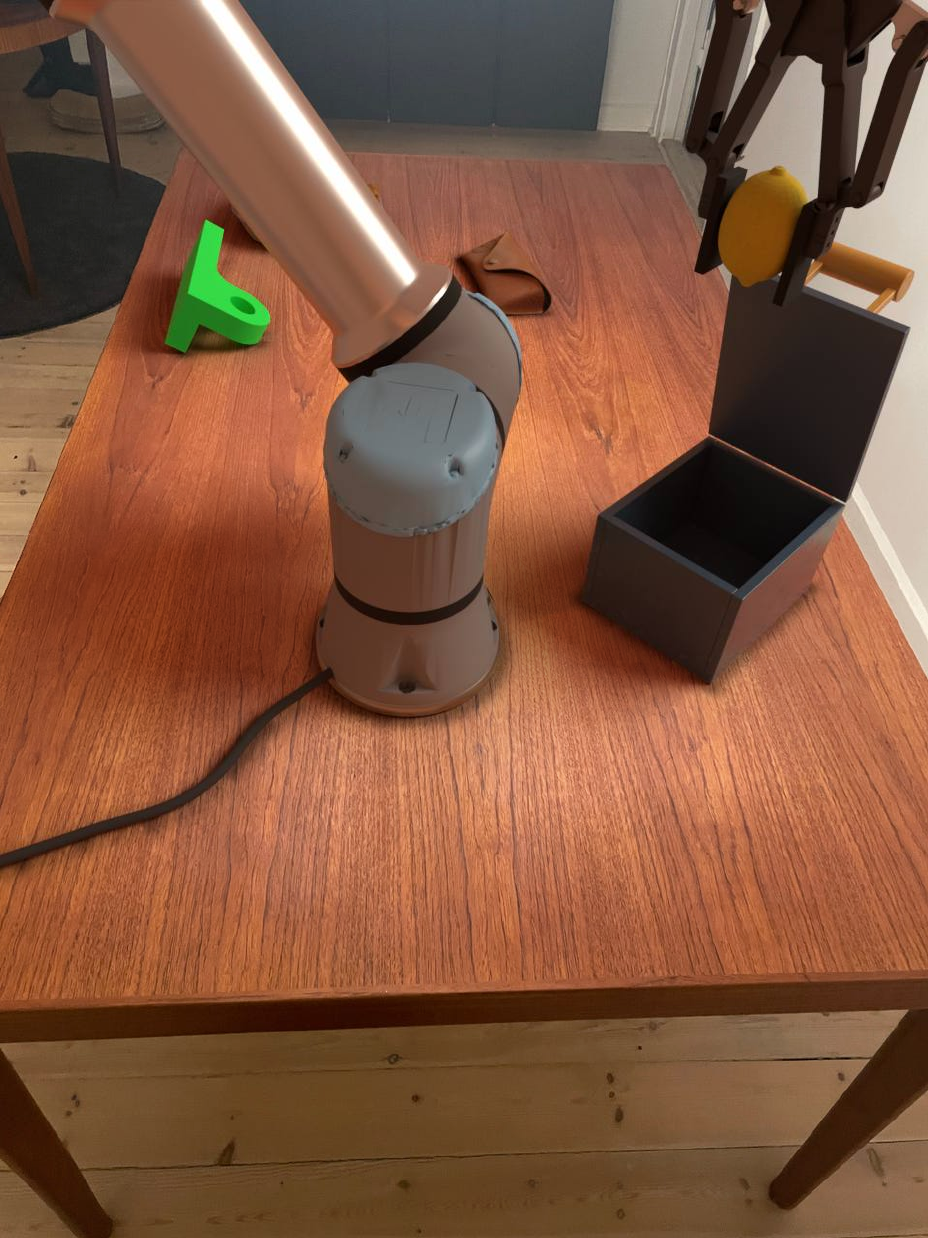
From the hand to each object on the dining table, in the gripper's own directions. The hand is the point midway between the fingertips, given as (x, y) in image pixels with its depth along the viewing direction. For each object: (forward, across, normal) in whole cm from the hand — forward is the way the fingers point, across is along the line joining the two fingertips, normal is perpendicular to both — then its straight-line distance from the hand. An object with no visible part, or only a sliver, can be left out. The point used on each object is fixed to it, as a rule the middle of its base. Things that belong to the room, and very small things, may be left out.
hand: (746, 282), depth 64 cm
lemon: (+1, 0, 0) cm, 1 cm away
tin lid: (+10, -4, -7) cm, 12 cm away
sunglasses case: (+29, +49, -34) cm, 66 cm away
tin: (+29, -4, -1) cm, 29 cm away
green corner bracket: (+28, +64, +10) cm, 70 cm away
